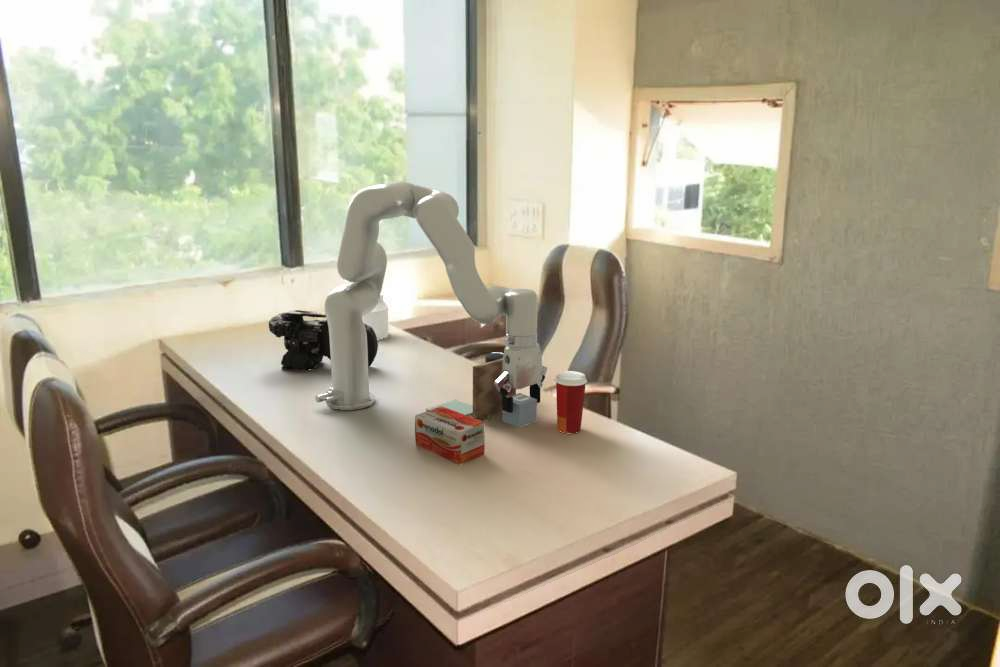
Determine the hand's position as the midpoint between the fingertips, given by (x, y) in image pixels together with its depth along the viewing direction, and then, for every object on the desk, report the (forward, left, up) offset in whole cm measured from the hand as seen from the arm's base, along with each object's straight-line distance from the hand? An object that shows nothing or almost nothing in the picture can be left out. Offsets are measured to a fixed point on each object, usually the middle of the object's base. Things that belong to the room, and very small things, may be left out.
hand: (521, 406), depth 191 cm
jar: (+17, +89, -4) cm, 91 cm away
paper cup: (+5, -12, -4) cm, 13 cm away
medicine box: (-24, -1, -4) cm, 25 cm away
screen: (-1, +8, -4) cm, 9 cm away
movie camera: (-15, +70, -4) cm, 71 cm away
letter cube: (0, 0, -4) cm, 4 cm away
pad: (-8, +16, -4) cm, 19 cm away
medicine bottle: (+8, +17, -4) cm, 19 cm away
